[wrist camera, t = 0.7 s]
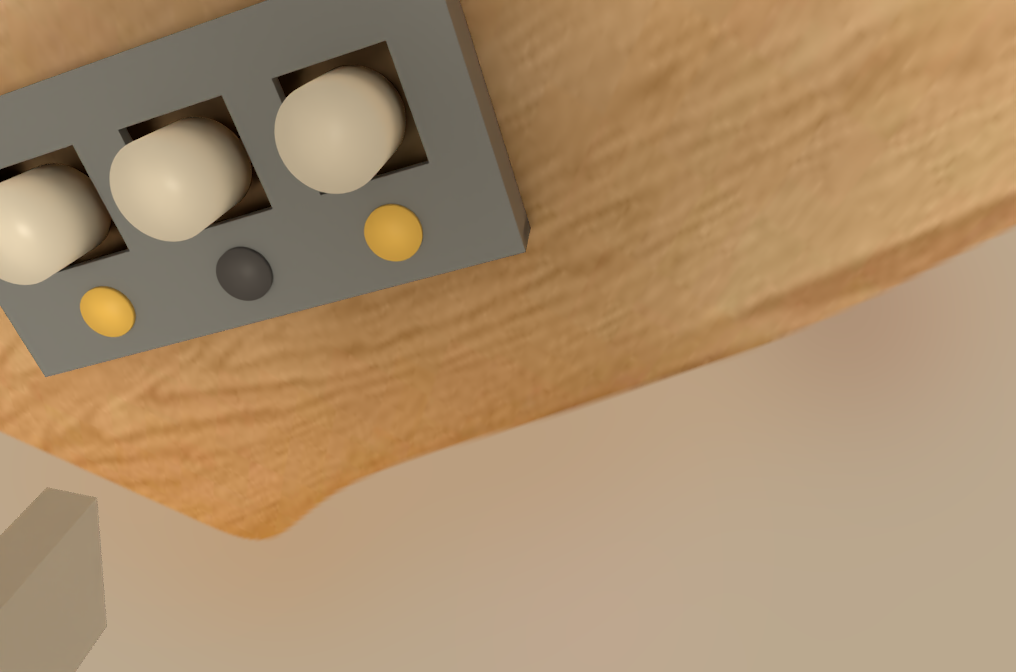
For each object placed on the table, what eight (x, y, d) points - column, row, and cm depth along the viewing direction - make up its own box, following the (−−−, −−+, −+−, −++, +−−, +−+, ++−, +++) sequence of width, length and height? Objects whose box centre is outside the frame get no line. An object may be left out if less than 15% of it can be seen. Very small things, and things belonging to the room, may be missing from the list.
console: (-57, 119, 36) (-114, 136, 33) (441, -59, 31) (425, -57, 28) (81, 347, 41) (41, 380, 38) (530, 227, 36) (525, 254, 33)
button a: (3, 177, 35) (-61, 204, 31) (80, 152, 34) (23, 177, 30) (52, 260, 36) (-4, 295, 33) (126, 238, 35) (77, 271, 32)
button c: (291, 82, 32) (256, 100, 28) (384, 52, 31) (358, 66, 27) (331, 177, 33) (301, 206, 30) (420, 151, 32) (400, 177, 29)
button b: (141, 132, 33) (89, 155, 30) (225, 104, 32) (182, 124, 29) (185, 221, 35) (141, 252, 31) (267, 196, 34) (231, 226, 31)
